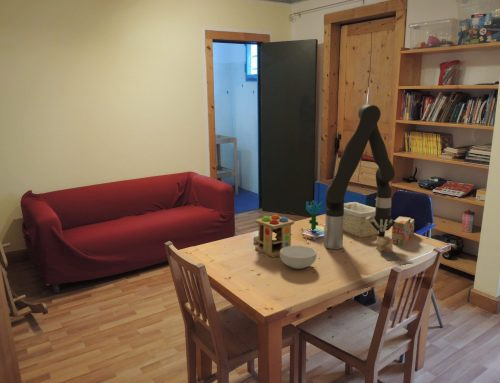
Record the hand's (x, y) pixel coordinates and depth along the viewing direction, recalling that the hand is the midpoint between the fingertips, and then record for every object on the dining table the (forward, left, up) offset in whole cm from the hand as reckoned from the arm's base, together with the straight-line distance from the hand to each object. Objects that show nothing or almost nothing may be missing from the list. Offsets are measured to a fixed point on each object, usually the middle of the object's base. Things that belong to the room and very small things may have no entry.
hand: (381, 237), depth 215 cm
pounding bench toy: (-58, +1, -5) cm, 59 cm away
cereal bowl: (-47, -24, -5) cm, 52 cm away
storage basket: (-6, +27, -5) cm, 28 cm away
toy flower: (-31, +25, -5) cm, 40 cm away
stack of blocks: (+16, +12, -5) cm, 21 cm away
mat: (0, -11, -5) cm, 12 cm away
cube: (0, -5, -4) cm, 7 cm away
